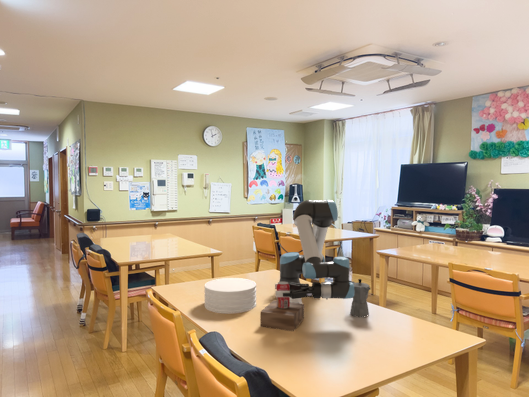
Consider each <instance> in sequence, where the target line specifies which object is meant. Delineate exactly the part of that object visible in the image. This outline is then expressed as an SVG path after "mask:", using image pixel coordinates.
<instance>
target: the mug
mask: <svg viewBox="0 0 529 397" xmlns="http://www.w3.org/2000/svg"><path fill="white" fill-rule="evenodd" d="M302 300H303V298H297V299H292V298H290V302H291V303H300V304H303V301H302Z"/></svg>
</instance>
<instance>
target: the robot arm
mask: <svg viewBox="0 0 529 397" xmlns="http://www.w3.org/2000/svg"><path fill="white" fill-rule="evenodd" d="M338 213H339V212H338V206H337V204H336V202H335V201H334V200H333V199H307V200H303V201H301V202H300V203H299V204H298V205H297V206H296V207H295V210H294V212H293V217H292V218H293V223H294V224H293V225H294V226H295V227H297V232H298V235H299V237H298V238H299V240H300V244H301V245H300V246H301V249H302V253H303V254H300V253H299V252H297V251H295V252H294V251H292V252H285V253H283V254H281V256H280V259H279V280H278V282H281V281H285V282H288V284H289V286H290V291H277V284H278V283H274V290H275V298H277V297H290V298H292V299H297V298H301V299H303V298H313V299H325V300H328V299H341V300H342V299H343V300H345V299H347V300H348V299H353V297H354V284H353V283H352V282H350V281H351V280H350V272H351V270H350V269H351V268H350V265H351V264H350V259H349V258H348V257H345V256H334V258H333V259H332V261H326V258H325V256H324V254H323V249H324V244H325V241H326V236H327V233H328V230H329V229H328V228H330V227H331V226H332V223H333V222H336V221H337V220H338V218H339V217H338V215H339V214H338ZM300 275H302V276H303V277H304V279H310V280H311V279H312V280H315V279H316V280H317V279H318V280H319V279H332V280H333V281H322V282H319V281H318V282H317V281H316V282H315V281H314V282H312V283H311V285H310V284H309V283H301V281H300Z"/></svg>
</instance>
